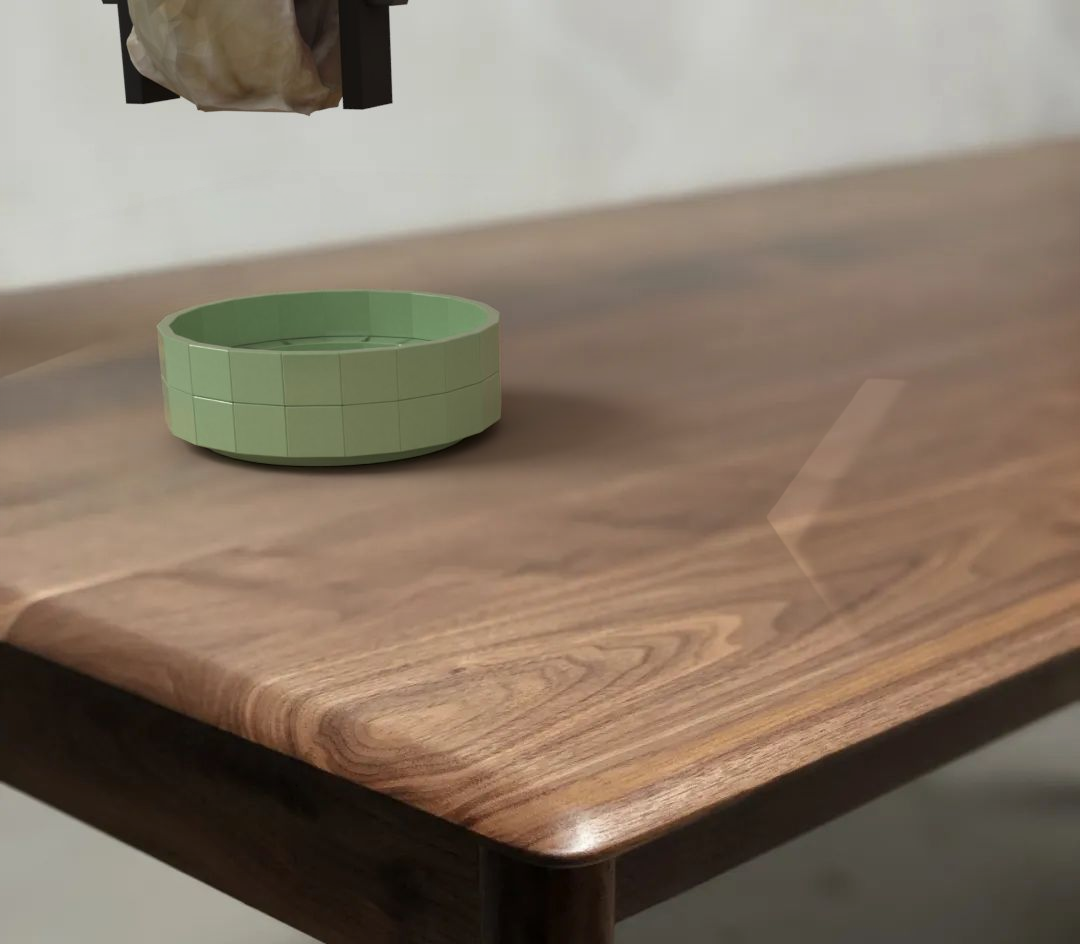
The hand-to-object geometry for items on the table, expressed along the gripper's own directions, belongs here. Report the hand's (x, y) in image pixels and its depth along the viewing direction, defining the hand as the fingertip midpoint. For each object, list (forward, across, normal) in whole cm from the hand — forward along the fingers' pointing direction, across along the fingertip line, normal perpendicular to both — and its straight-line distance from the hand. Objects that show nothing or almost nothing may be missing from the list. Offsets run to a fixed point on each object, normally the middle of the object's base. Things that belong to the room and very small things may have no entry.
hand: (258, 102), depth 67 cm
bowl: (+17, +6, -17) cm, 25 cm away
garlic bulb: (0, 0, 0) cm, 1 cm away
